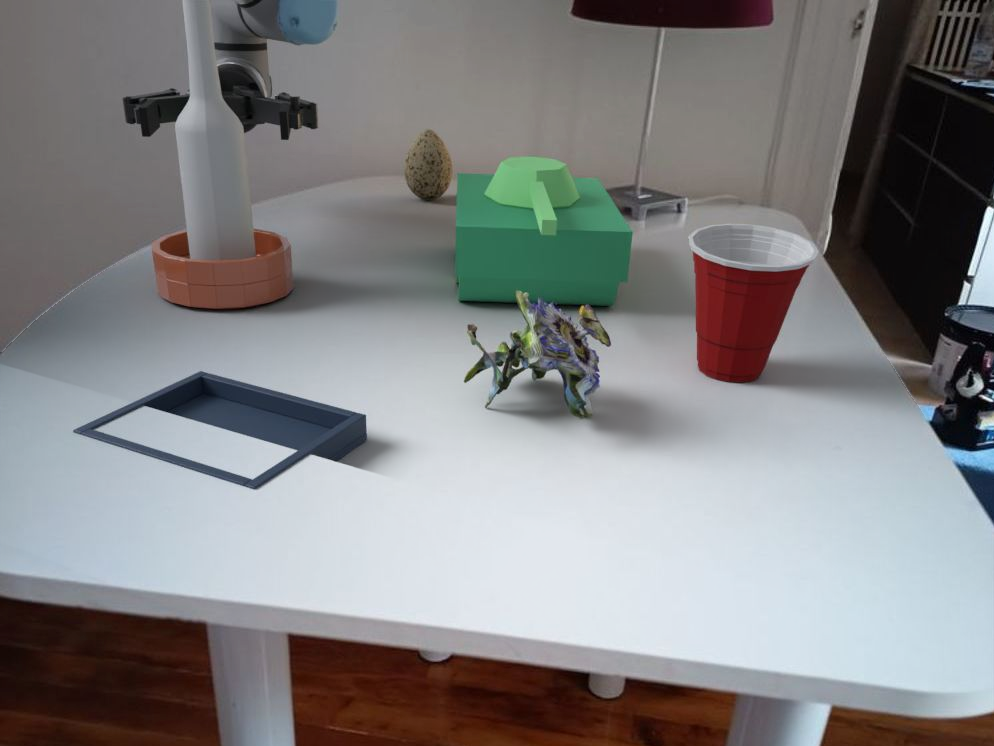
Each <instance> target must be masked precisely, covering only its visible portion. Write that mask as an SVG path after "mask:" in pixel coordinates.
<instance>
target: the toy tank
mask: <svg viewBox="0 0 994 746" xmlns="http://www.w3.org/2000/svg"><path fill="white" fill-rule="evenodd" d="M456 175H457V176H456V209H455V210H456V213H455V259H454V260H455V264H454V265H455V266H454V268H455V269H454V277H455V278H454V279H455V284H458V292H457V301H458V302H483V303H484V302H485V303H489V302H490V303H514V304H518V303H517V300H516V296H515V293H516V291H521V292H522V293H523V294H524V293H528V294H529V295H528V298H527V299H528V300H529V301H530V303H531V304H533V303H536V304H538V298H542V301H543V303H544V302H546V303H547V304H549V305H550V303H551V304H552V301H553V304H554V305H556V304H557V305H570V306H571V305H572V306H574V305H575V306H585V305H587V304H588V305H590V306H599V307H601V306H602V307H612V306H613V305H614V304H615V302H616V299H617V295H618V292H619V286H620V283H628V279H629V269H630V261H631V260H630V259H631V250H632V241H633V234H634V232H633V230H632V229H631V227H630V225H629V224H628V222H627V221H626V219H625V218H624V216H623V215H622V213H621V212H620V209H618V207H617V205H616V204H615V202H614V201H613V199H612V197H611V196H610V194H609V193H608V192H607V189H606V188H605V186H604V185H603V183H602V182H601V180H600V179H599V178H598V177H577V176H576V177H574V176H572V174H571V172H570V170H569V167H568V165H567V163H564V162H562V161H560V160H558V159H554V158H549V157H548V158H547V157H541V156H540V157H539V156H532V155H531V156H515V157H514V156H513V157H512V156H511V157H508V158H506V159H504V160H503V161H501V162H500V164H499V165H498V167H497V169H496V171H495V173H494V174H491V173H490V174H489V173H488V174H487V173H463V172H458V173H457V174H456Z"/></svg>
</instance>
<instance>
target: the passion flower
mask: <svg viewBox="0 0 994 746" xmlns="http://www.w3.org/2000/svg"><path fill="white" fill-rule="evenodd" d="M528 295H529V294H528V293H524V294H523V293H522V292H521V291H516V293H515V296H516V300H517V303H516V304H517V306H518V308H519V310H520V312H521V315H522V317H523V318H524V320H525V323H526V325H525V327H524V328H523V330H514V331H513V332H512V331H511V332H510V333H509V340H510V343H511V345H510V346H509V345H508V343H507V342H506V341H502V342H501V343H500V344H499V345H498V347H497V349H496V350H495V351H493V352H492V351H491V352H487V351H486V349H485V347H483V346H482V344H481V343H480V342H479V341H478V340H477V331H478V326H476V325H475V324H474V323H471V324H469V323H468V324H467V325H466V334H467V335H468V336H469V337H470V343H471V345H472V346H477V347H478V348H479V350H480V351H482V353H483V354H482V356H481V357H480V358H479V360H478V361H477V362H476V363H475V364H474V366H472V367H471V368H470V370H468V371H467V373H466V375H465V376H464V378H463V383H464V384H466V383H469V382H470V381H471V380H472V379H474V378H475V376H477V375H478V374H479V373H481V372H483V371H485V370H488V369H490V368H491V367H492V369H493V372H492V373H493V376H492V380H491V386H490V389H489V394H488V398H487V401H486V404H485V405H484V408H485V409H487V408H488V407H489V406H490V405H491V403H492V402H493V400H494V398H495V397H496V396H497V395H500V394H501V393H502V392H503V391H506V390H507V389H508V387H509V386H510V384H511V383H512V380H513V379H514V378H515V377H516V376H518V375H519V374H521V373H523V372H524V371H525V370H528V369H531V379H532V381H533V382H536V381H537V380H541V379H543V378H545V376H546V374H547V372H550V371H553V370H556V371H558V373H559V374H560V376H561V379H562V384H563V398H564V401H565V403H566V405H567V407H568V409H569V412H570V413H571V414H572V415H573V416H574V417H577V418H578V419H579V420H583V419H584V418H585V417H587V418H588V417H591V416H592V415H593V406H592V404H591V400H590V395H592V394H594V393H596V390H597V389H599V388H600V381H601V380H600V377H601V376H600V374H599V373H600V369H599V366H598V365H599V363H600V357H599V356H598V355H597V351H596V350H595V349H592V348H590V347H589V342H588V337H587V335H590V337H592V338H593V339H594V340H596V341H599V342H600V344H601V345H605V347H607V348H610V347H611V346H612V342H611V338H610V335H609V334H608V331H606V329H605V328H604V327H603V325H602V324H601V319H599V318H598V316H597V313H596V311H595V309H594V308H593V307H591V305H588V304H587V305H581V306H580V307H579V311H578V313H579V314H578V316H577V321H578V323H579V324H580V326H581V328H582V330H578V327H579V324H576V325H575V322H574V321H573V319H572V315H571V314H570V315H569V317H568V316H567V315H566V313H565V312H563V309H562V308H556V306H557V305H558V304H553V301H552V304H551V303H550V304H547V303H546V302H544V303H543V301H542V298H538V303H530V301H529V300H528V299H527V298H528ZM555 305H556V306H555ZM510 347H511V348H510ZM520 364H521V367H520ZM499 367H503V368H502V370H500V368H499ZM513 367H514V368H513ZM519 367H520V368H519Z"/></svg>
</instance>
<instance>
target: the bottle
mask: <svg viewBox="0 0 994 746" xmlns="http://www.w3.org/2000/svg"><path fill="white" fill-rule="evenodd" d="M181 2H182V11H183V21H184V28H185V29H184V30H185V31H184V32H185V38H186V47H187V61H188V62H187V63H188V64H187V65H188V80H189V81H188V83H189V89H190V98H189V100H188V102H187V104H186V106H185V107H184V109H183V110H182V112H181V113H180V115H179V116H178V118H177V121H176V122H174V128H175V130H174V131H175V139H176V147H177V156H178V165H179V173H180V181H181V191H182V199H183V207H184V216H185V218H184V219H185V226H186V230H187V235H188V244H189V252H190V259H198V260H235V259H245V258H251V257H256V251H255V240H254V230H253V229H254V222H253V221H254V219H253V211H252V202H251V191H250V189H251V188H250V181H249V180H250V179H249V171H248V169H249V168H248V159H247V150H246V140H245V133H244V129H243V125H242V123H241V122H240V120H239V118H238V117H237V116H236V114H235V113H234V112H233V111H232V110H231V109H230V107H229V106H228V105H227V104H226V102H225V101H224V99H223V97H222V93H221V87H220V80H219V74H218V68H217V61H216V55H215V46H214V37H213V28H212V19H211V9H210V0H181Z"/></svg>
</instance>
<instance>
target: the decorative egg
mask: <svg viewBox="0 0 994 746" xmlns="http://www.w3.org/2000/svg"><path fill="white" fill-rule="evenodd" d="M403 168H404V169H403V172H404V173H403V175H404V179H405V181H406V185H407V187H408V188H409V190H410V191H411V192H412V193H413V194H414V195H415V197H418V198H419V199H421V200H423V201H433V200H437V199H439V198H440V197H442V196H443V195H444V194H445V193H446V192H447V190H448V189H449V187H450V185H451V182H452V179H453V164H452V159H451V156H450V153H449V150H448V147H447V146H446V144H445V143H444V141H443V140H442V138H441V137H440V136H439V135H438V133H436V132H435V130H432V129H430V128H429V129H425V130H423V131H422V132H420V133H419V134H418V135H417V136H416V138H415V139H414V140H413V141H412V143H411V144H410V147H409V149H408V150H407V152H406V156H405V159H404V165H403Z"/></svg>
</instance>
